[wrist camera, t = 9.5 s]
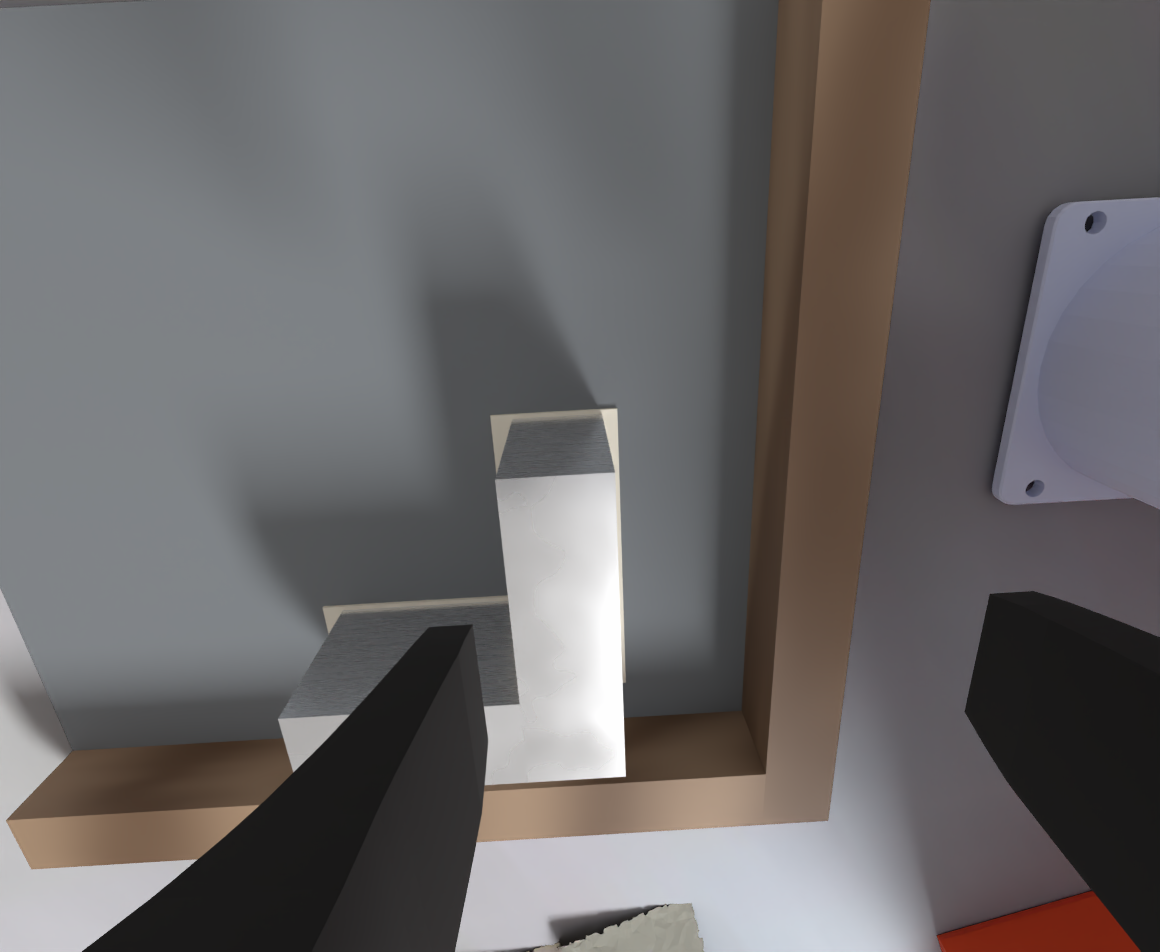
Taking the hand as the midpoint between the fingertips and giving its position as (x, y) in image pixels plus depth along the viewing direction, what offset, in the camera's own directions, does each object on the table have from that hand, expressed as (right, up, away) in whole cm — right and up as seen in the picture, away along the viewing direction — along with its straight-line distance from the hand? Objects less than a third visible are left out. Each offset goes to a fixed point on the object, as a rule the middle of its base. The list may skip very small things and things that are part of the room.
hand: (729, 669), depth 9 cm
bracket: (-5, 0, +9) cm, 11 cm away
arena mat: (-7, +3, +9) cm, 12 cm away
